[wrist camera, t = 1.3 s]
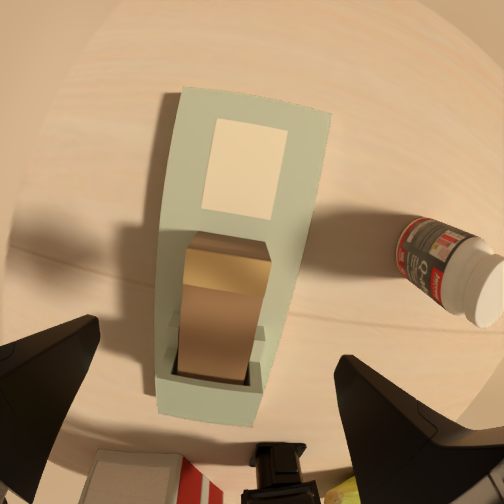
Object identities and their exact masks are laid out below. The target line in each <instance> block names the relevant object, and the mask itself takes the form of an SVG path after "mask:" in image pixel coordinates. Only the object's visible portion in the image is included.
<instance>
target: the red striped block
mask: <svg viewBox="0 0 504 504" xmlns="http://www.w3.org/2000/svg"><path fill="white" fill-rule="evenodd" d="M223 502H224V493H223V492H222V491H221V490H220V489H219V488H218V487H216V486H215V485H214V484H213V483H212V482H211V481H210V480H209V479H208V478H207V477H206V476H205V475H204V474H202V473H201V472H199V471H198V470H197V469H196V468H195V467H194V466H193V465H192V464H191V463H190V462H189V461H188V460H187V459H186V458H185V457H183V455H181V454H177V453H134V452H121V451H110V450H102V449H98V450H97V453H96V455H95V458H94V460H93V463H92V466H91V468H90V471H89V474H88V477H87V479H86V482H85V485H84V488H83V491H82V494H81V497H80V500H79V503H78V504H223Z"/></svg>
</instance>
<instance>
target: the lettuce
mask: <svg viewBox="0 0 504 504" xmlns="http://www.w3.org/2000/svg"><path fill="white" fill-rule="evenodd" d="M324 504H361V503H360V498H359V493H358V488H357V484H356V479H355V476H353V477H351V478H349V479H347V480H346V481H344V482H343V483H342V484H340V485H339V486H337V487H335V488H332V489H331V490H329V491H327V494H326V496H325V499H324Z"/></svg>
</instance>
